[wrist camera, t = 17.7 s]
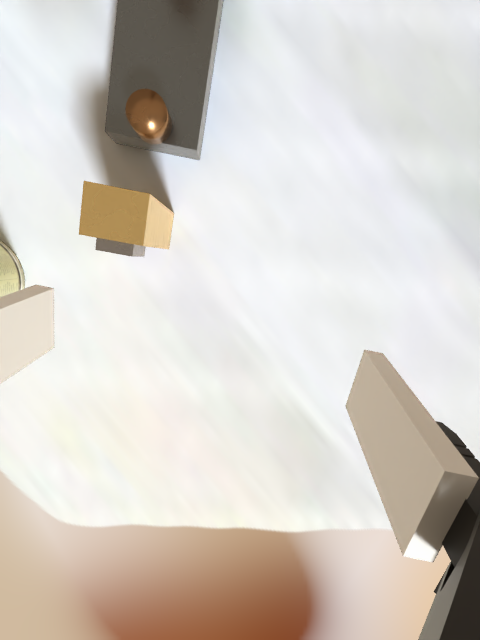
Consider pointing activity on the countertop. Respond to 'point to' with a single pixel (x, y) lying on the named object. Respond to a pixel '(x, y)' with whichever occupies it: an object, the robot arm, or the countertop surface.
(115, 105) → the hand plane
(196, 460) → the countertop surface
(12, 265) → the coffee can
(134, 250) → the lever cap
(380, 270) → the countertop surface
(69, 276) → the countertop surface
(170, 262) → the countertop surface
